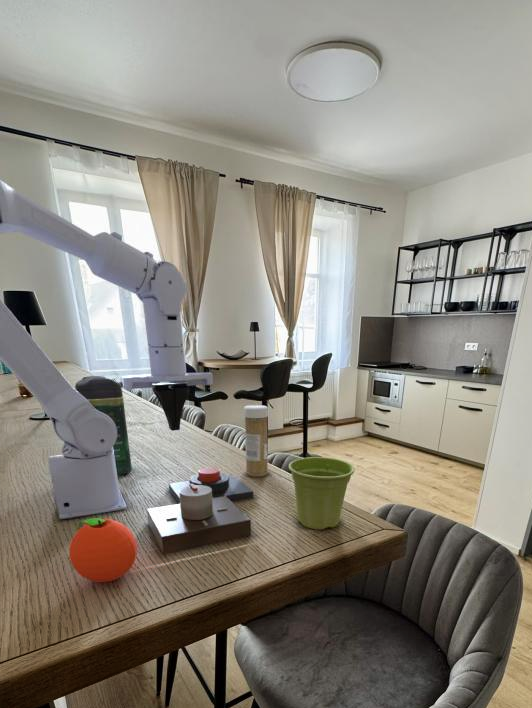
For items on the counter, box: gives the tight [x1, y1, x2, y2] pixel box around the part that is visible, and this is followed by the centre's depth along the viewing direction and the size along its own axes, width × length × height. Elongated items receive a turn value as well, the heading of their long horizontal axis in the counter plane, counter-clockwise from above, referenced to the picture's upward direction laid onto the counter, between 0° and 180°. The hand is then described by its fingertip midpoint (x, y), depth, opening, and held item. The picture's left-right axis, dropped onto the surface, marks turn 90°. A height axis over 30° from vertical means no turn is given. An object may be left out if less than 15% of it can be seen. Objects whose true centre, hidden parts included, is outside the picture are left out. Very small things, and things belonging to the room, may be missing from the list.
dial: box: [179, 483, 213, 520], centre depth 57 cm, size 4×4×4 cm
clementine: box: [68, 517, 138, 583], centre depth 46 cm, size 8×7×7 cm
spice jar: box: [243, 404, 269, 478], centre depth 80 cm, size 5×5×13 cm
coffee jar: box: [74, 375, 133, 477], centre depth 80 cm, size 10×8×19 cm
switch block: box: [168, 472, 254, 504], centre depth 71 cm, size 12×10×3 cm
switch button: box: [197, 467, 221, 482], centre depth 70 cm, size 4×4×2 cm
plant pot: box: [288, 456, 356, 530], centre depth 60 cm, size 9×9×9 cm
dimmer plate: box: [146, 496, 252, 555], centre depth 58 cm, size 12×10×3 cm
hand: (174, 429), depth 72 cm, fingers closed
